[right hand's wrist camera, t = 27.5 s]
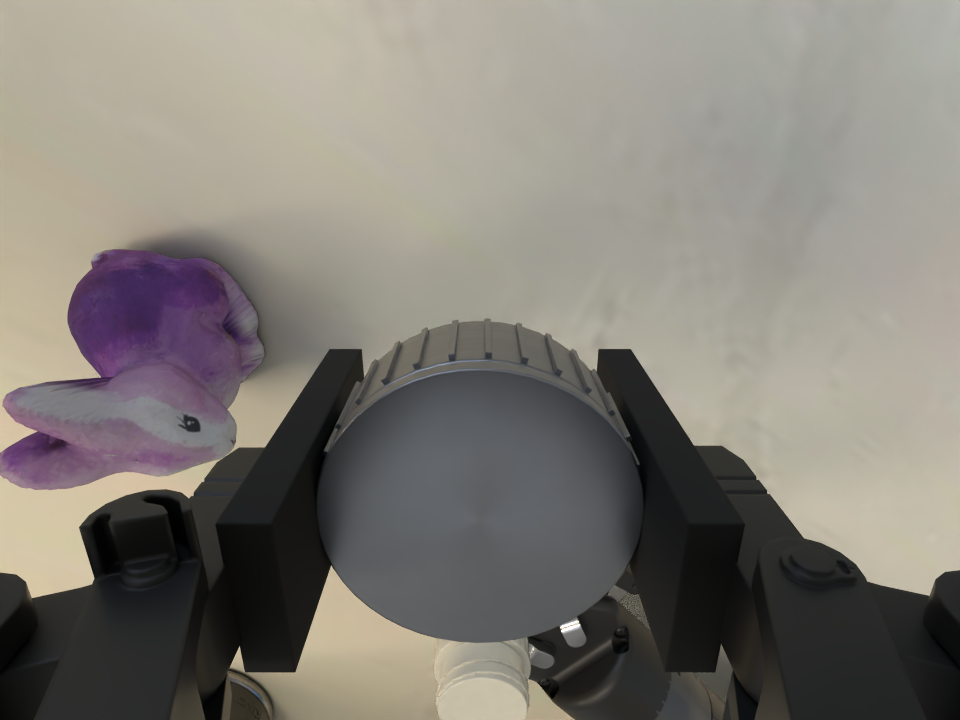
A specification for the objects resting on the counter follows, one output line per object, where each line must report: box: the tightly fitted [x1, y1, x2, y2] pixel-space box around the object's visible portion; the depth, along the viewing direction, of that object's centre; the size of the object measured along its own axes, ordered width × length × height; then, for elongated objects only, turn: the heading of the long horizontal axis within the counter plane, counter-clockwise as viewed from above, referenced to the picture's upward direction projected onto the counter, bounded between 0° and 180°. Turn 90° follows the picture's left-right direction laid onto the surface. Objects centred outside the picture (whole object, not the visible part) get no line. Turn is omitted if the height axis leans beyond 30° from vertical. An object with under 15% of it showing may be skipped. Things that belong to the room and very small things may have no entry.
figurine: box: [0, 249, 265, 490], centre depth 30 cm, size 9×10×15 cm
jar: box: [434, 637, 531, 720], centre depth 35 cm, size 5×5×16 cm
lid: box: [315, 319, 645, 643], centre depth 11 cm, size 6×6×2 cm
